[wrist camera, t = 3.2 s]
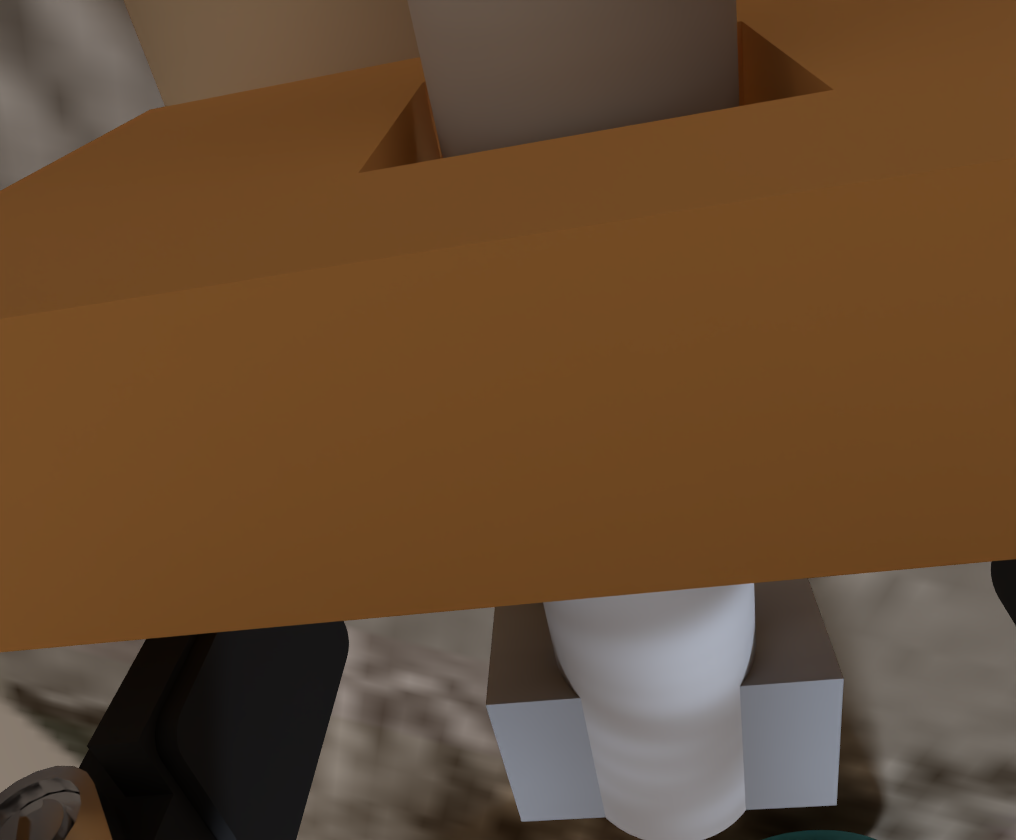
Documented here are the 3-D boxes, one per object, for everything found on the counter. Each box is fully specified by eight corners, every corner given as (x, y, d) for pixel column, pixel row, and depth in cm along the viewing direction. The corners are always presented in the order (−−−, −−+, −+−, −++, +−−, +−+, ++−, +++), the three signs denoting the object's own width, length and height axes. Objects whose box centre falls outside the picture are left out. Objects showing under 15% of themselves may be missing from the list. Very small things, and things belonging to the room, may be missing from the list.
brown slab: (1077, -71, 10) (1987, 5, 4) (1039, 161, 12) (1631, 501, 5) (150, 109, 12) (-333, 371, 6) (222, 289, 14) (-89, 660, 7)
